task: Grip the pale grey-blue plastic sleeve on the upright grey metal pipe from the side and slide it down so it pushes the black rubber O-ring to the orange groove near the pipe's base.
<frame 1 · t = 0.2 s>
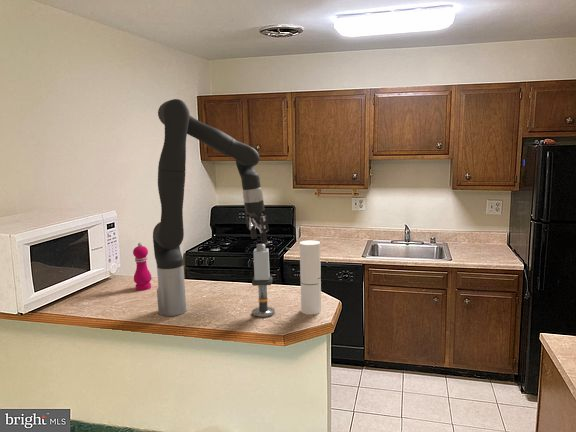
hand: (259, 240, 177), 22 cm above the countertop, tool pointing down, fingers open, 8 cm apart
ring: (262, 280, 158), point 12 cm above the countertop, slide at 12.0 cm
sleeve: (261, 264, 157), point 18 cm above the countertop, slide at 13.0 cm
pipe stand: (263, 313, 160), on the countertop
cylindrical container: (311, 311, 161), on the countertop
pepper mill: (143, 288, 192), on the countertop
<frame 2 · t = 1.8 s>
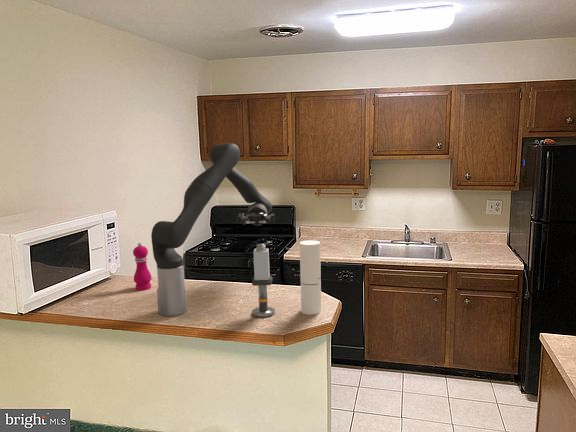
hand: (255, 221, 169), 31 cm above the countertop, tool horizontal, fingers open, 8 cm apart
nothing on the countertop moved.
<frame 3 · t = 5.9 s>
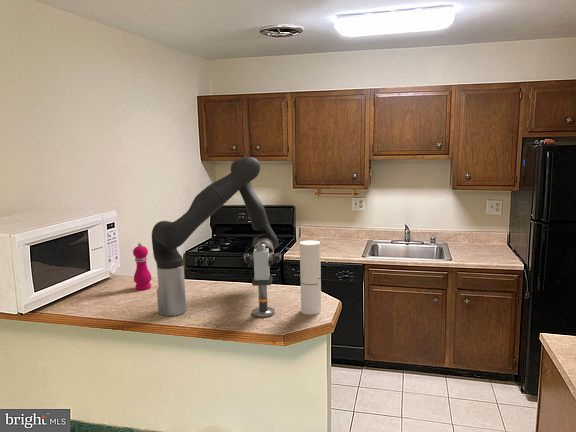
hand: (261, 263, 154), 19 cm above the countertop, tool horizontal, fingers closed on sleeve, 5 cm apart
sleeve: (261, 264, 157), point 18 cm above the countertop, slide at 13.0 cm, touching gripper
everything else where it was.
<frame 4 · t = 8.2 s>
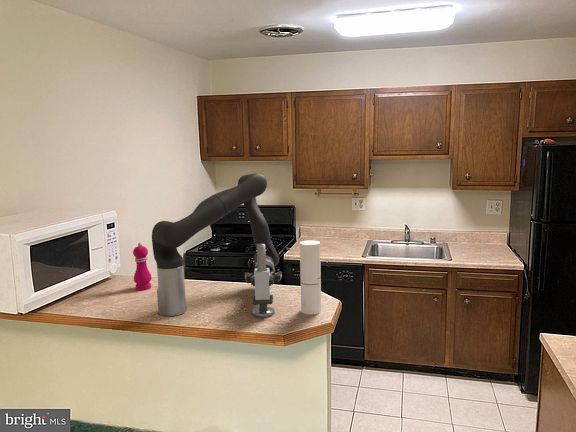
hand: (262, 283, 155), 12 cm above the countertop, tool horizontal, fingers closed on sleeve, 5 cm apart
ring: (263, 299, 159), point 5 cm above the countertop, slide at 5.1 cm, touching sleeve
sleeve: (262, 283, 158), point 11 cm above the countertop, slide at 5.9 cm, touching gripper, ring
everything else where it was.
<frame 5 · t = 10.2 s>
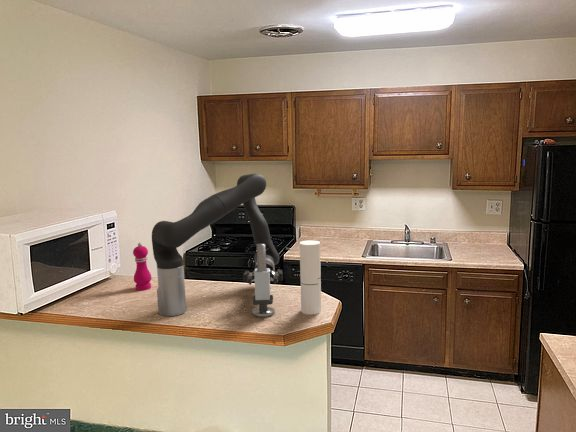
hand: (262, 281, 158), 12 cm above the countertop, tool horizontal, fingers open, 8 cm apart
sleeve: (262, 284, 158), point 11 cm above the countertop, slide at 5.8 cm, touching ring
everything else where it was.
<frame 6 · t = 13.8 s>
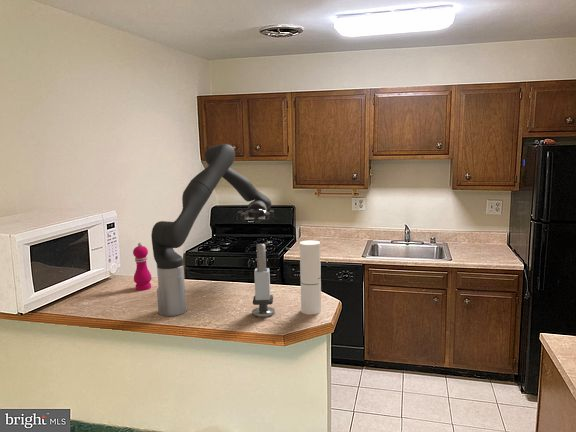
hand: (254, 217, 171), 32 cm above the countertop, tool horizontal, fingers open, 8 cm apart
nothing on the countertop moved.
at the end: ring slide at 5.0 cm; sleeve slide at 5.8 cm; the gripper is holding nothing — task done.
